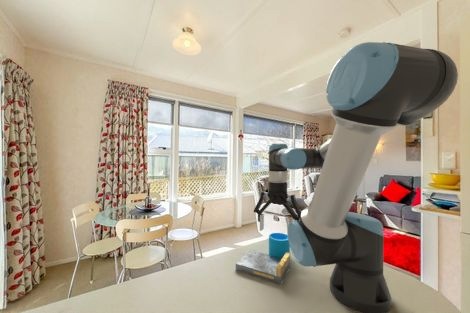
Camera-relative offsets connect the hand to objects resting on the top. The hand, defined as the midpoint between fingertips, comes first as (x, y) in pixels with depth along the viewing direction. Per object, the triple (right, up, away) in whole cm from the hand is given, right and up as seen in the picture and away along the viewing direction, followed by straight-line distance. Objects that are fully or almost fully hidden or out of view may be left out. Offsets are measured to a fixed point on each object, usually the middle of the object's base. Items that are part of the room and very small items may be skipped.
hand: (277, 232), depth 84 cm
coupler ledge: (-7, -9, -11) cm, 16 cm away
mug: (0, -9, -1) cm, 9 cm away
